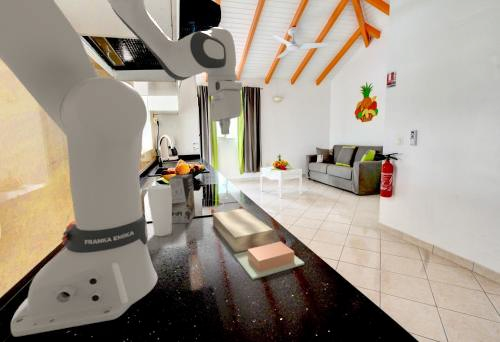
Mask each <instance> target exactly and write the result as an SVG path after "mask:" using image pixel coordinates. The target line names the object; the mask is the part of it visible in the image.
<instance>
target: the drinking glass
mask: <svg viewBox="0 0 500 342" xmlns="http://www.w3.org/2000/svg"><path fill="white" fill-rule="evenodd" d="M147 198H148V206H149V211H150V216H151V221H152V226H153V234H154V236H156V237H166V236H169V235H171V234H172V232H173V223H172V192H171V186H170V185H169V184H156V185H151V186H148V187H147Z"/></svg>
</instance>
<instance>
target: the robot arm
mask: <svg viewBox="0 0 500 342" xmlns="http://www.w3.org/2000/svg"><path fill="white" fill-rule="evenodd" d="M107 2H108V3H109V4H110V7H111V8H112V10H113V11H114V13H115V15H116V17H118V18H119V19H120V21H121V22H122V23H123V24H124V25H125V26H126V27H127V28H128V29H129V31H130V32H132V34H133V35H134V36H135V37H136V38H137V39H138V40H139V41H140V42H141V44H143V45H144V46H145V47H146V48H147V49H148V51H150V52H151V54H152V56H154V57H155V58H156V60H157V61H158V63H159V64H160V67H162V69H163V70H164V72H165V73H166V74H167V75H168V76H169V77H170V78H172V79H173V80H176V81H185V80H187V79H189V78H192V77H193V76H197V75H201V74H202V73H206V74H207V87H208V88H207V90H208V95H209V96H211V97H212V98H211V100H210V119H211V122H218V123H219V128H220V134H221V135H229V134H230V127H231V119H235V118H239V117H240V116H241V114H242V93H241V92H242V91H243V83H242V81H238V80H237V77H238V76H237V74H236V65H237V57H236V55H237V54H236V46H235V42H234V38H233V35H232V33H231V32H230V31H229V30H227V29H225V28H223V27H218V26H217V27H216V26H215V27H211V28H210V29H208V30H206V31H202V30H201V31H199V30H198V31H196V32H192V33H190V34H189V35H186V36H184V37H183V38H181V39H179V40H177V41H176V40H173V39H170V38H169V37H168V36H167V35H166V34H165V32H163V30H162V29H161V28H160V26H159V25H158V24H157V23H156V21H154V19H153V18H152V17H151V15H150V14H149V13H148V10H147V9H146V5H145V0H107ZM0 60H1V61H2V62H3V63H4V65H5V66H7V67H8V69H9V70H10V71H11V72H12V74H13V75H14V76H15V77H16V78H17V79H18V81H19V82H20V83H21V84H22V86H23V87H24V88H25V90H26V91H28V93H29V94H30V95H31V96H32V97H33V99H34V100H35V102H36V103H37V104H38V105H39V106H40V107H41V108H42V110H43V112H45V113H46V114H47V115H48V117H49V118H51V120H52V121H53V122H54V123H55V125H56V126H57V127H58V128H59V129H60V131H61V132H62V133H63V134H64V135H65V136H66V144H67V154H68V167H69V186H70V188H69V189H70V193H71V202H72V208H73V214H74V220H73V221H71V222H69V224H68V225H67V226H66V227H65V231H64V232H63V234H62V237H61V243H62V244H61V245H64V246H65V248H63V249H62V250H61V251H60V252H59V253H58V254H56V255H55V256H54V257H53V258H52V259H51V260H49V261H48V262H47V263H46V264H44V266H43V267H42V268H40V269H39V271H38V272H37V274H36V275H35V276H34V277H33V279H32V281H31V283H30V286H29V290H28V294H27V298H25V299H24V301H23V302H22V303H21V304H20V305H19V306H18V307H17V308H18V309H16V311H15V312H14V315H12V316H13V317H12V319H11V321H10V333H11V335H12V336H13V337H22V336H27V335H28V336H29V335H35V334H39V333H40V334H41V333H44V332H50V331H51V332H52V331H55V330H61V329H62V330H63V329H66V328H72V327H79V326H85V325H90V324H94V323H101V322H106V321H112V320H115V319H117V318H119V317H120V316H122V315H123V314H124V313H125V312H126V311H127V310H128V309H129V308H130V307H131V306H132V305H133V304H135V303H136V302H138V301H139V300H141V299H142V298H143V297H145V296H147V294H149V293H150V292H151V291H152V290H153V289H154V287H155V286H156V284H157V282H158V273H157V272H156V270H155V267H154V265H153V262H152V259H151V256H150V251H149V248H148V238H149V237H148V236H149V234H148V223H147V219H146V215H145V213H143V204H142V194H141V193H142V192H141V181H140V168H141V158H142V149H143V148H142V147H143V145H142V144H143V133H144V129H145V126H146V123H147V119H148V111H147V106H146V103H145V101H144V99H143V98H142V96H141V95H140V93H139V92H138V91H137V90H136V88H134V87H133V86H131V85H130V84H128V83H127V82H125V81H123V80H120V79H118V78H113V77H105V76H103V77H101V76H99V74H98V72H97V70H96V68H95V67H94V65H93V62H92V61H91V59H90V57H89V55H88V52H87V51H86V49H85V46H84V43H83V41H82V39H81V36H80V35H79V33H78V32H77V30H76V29H75V28H74V27H73V25H72V23H71V22H70V21H69V20H68V18H67V16H66V15H65V14H64V13H63V11H62V10H61V8H60V7H59V6H58V3H56V1H55V0H0Z"/></svg>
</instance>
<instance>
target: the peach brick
mask: <svg viewBox="0 0 500 342" xmlns="http://www.w3.org/2000/svg"><path fill="white" fill-rule="evenodd" d="M247 251H248V260H249V261H250V262H251V263H252V264H253V265H254V267H255V268H256V269H257V270H258V271H259V272H261V271H264V270H268V269H271V268H275V267H278V266H282V265H285V264H289V263H292V262H294V255H295V251H294V250H293V249H292V248H290V246H289V247H288V246H287V245H286V244H284V242H282V241H277V242H273V243H272V244H268V245H264V246H259V247H255V248H251V249H248V250H247Z"/></svg>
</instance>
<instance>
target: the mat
mask: <svg viewBox="0 0 500 342" xmlns="http://www.w3.org/2000/svg"><path fill="white" fill-rule="evenodd" d="M233 255H234V258H235V259H236V261H238V263H239V264H240V265H241V267H242V268H243V270H245V272H246V273H247V274H248V276H249V277H250V278H251V280H256V279H259V278H262V277H267V276H269V275H272V274H276V273H279V272H282V271H286V270H287V271H288V270H290V269H293V268H296V267H300V266H303V265H305V262H304V261H303V260H302V259H300V257H298V256H296V255H295V254H294V262H292V263H289V264H285V265H282V266H278V267H275V268H271V269H268V270H264V271H261V272H259V271H258V270H257V269H256V268H255V267H254V265H253V264H252V263H251V262H250V261H249V260H248V250H245V251H241V252H237V253H234V254H233Z"/></svg>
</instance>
